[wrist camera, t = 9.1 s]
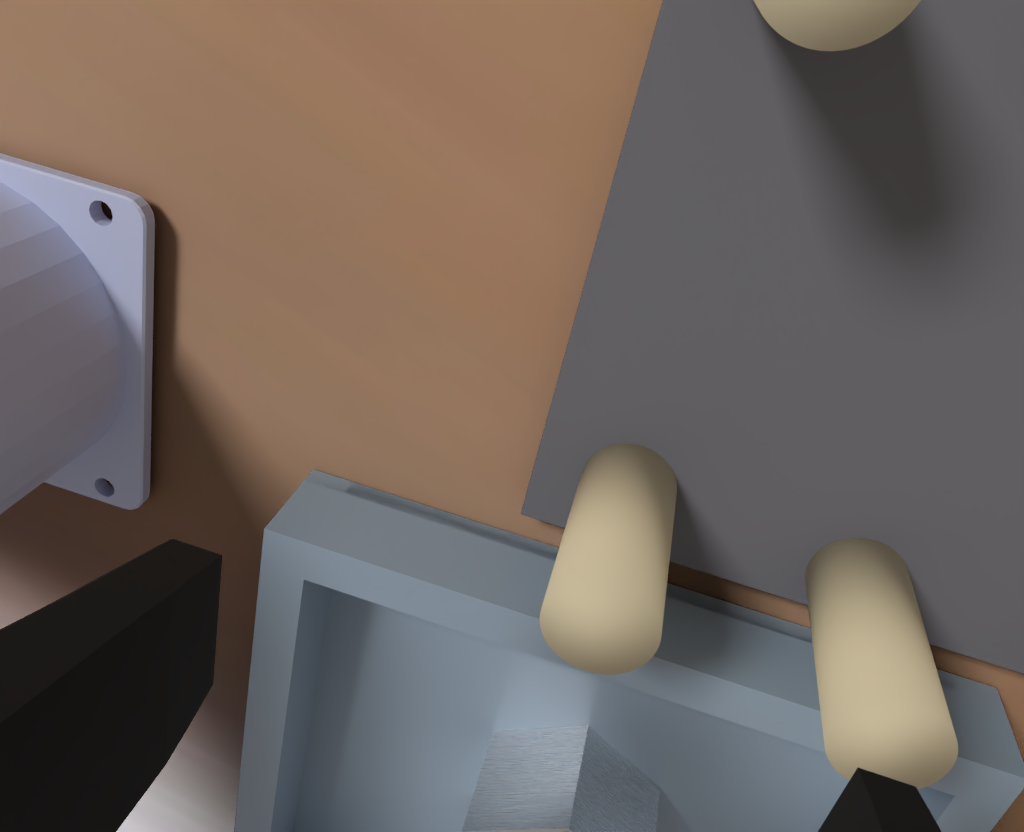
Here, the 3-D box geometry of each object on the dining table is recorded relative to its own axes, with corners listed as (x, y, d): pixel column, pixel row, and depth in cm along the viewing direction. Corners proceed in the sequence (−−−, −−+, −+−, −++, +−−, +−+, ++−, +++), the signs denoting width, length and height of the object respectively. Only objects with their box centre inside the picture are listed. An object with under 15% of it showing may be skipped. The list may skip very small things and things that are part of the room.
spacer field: (526, 499, 20) (466, 654, 15) (716, -185, 13) (707, -261, 9) (1163, 701, 18) (1298, 932, 14) (1703, 50, 12) (2262, 99, 8)
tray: (266, 836, 27) (226, 911, 25) (313, 469, 21) (264, 528, 18) (768, 1018, 26) (771, 1114, 24) (996, 688, 19) (1030, 780, 17)
